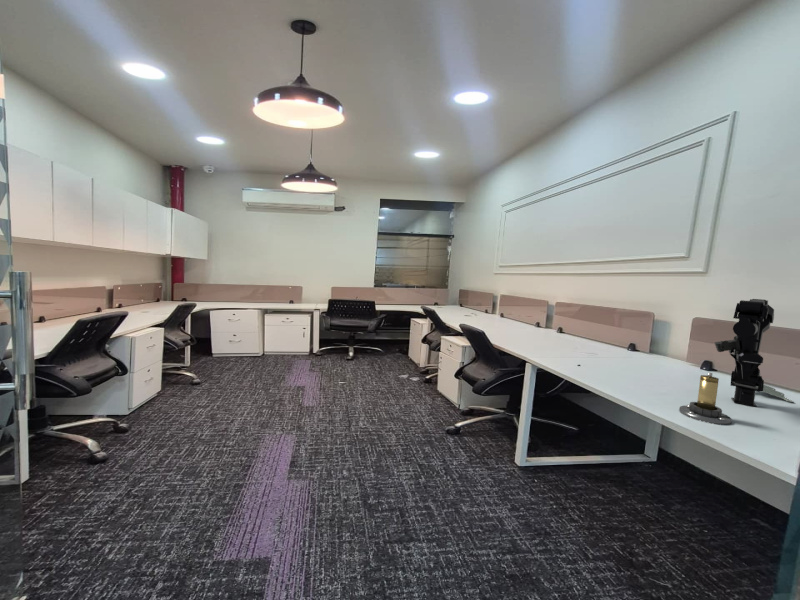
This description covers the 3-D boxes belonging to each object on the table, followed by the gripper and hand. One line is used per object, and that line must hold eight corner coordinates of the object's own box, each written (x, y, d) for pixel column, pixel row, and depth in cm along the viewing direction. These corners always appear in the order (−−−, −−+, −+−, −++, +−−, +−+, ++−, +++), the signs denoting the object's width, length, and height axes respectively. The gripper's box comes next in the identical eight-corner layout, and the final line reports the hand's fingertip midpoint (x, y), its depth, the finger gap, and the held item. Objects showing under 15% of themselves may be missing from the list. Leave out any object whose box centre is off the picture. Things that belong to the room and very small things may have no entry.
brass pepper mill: (693, 409, 127) (698, 370, 126) (708, 411, 126) (713, 372, 125) (701, 414, 123) (706, 374, 121) (717, 416, 122) (722, 375, 120)
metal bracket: (758, 385, 147) (742, 376, 161) (751, 397, 149) (736, 387, 162) (802, 401, 142) (783, 390, 155) (795, 413, 143) (776, 402, 156)
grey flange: (677, 405, 134) (678, 396, 134) (727, 415, 126) (728, 405, 126) (680, 416, 123) (681, 406, 123) (735, 428, 115) (736, 418, 115)
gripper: (714, 329, 141) (709, 367, 143) (722, 335, 126) (716, 377, 127) (752, 333, 135) (747, 373, 136) (766, 339, 120) (760, 384, 121)
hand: (741, 376), depth 130 cm, fingers open, 9 cm apart
